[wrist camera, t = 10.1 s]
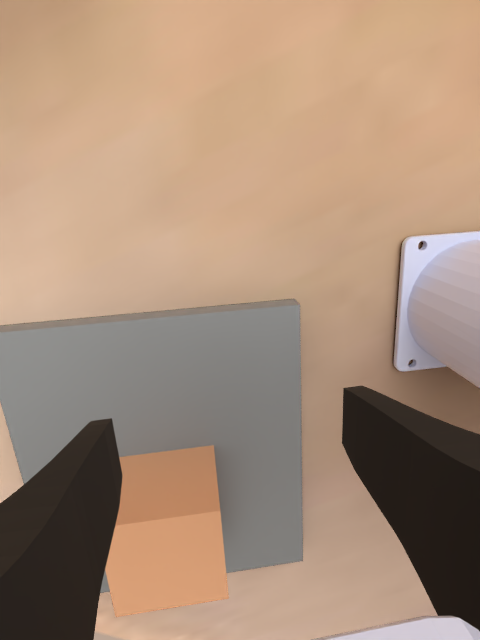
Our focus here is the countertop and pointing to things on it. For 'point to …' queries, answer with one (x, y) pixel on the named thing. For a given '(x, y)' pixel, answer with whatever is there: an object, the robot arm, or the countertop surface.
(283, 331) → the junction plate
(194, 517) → the peach orange cube
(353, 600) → the countertop surface
